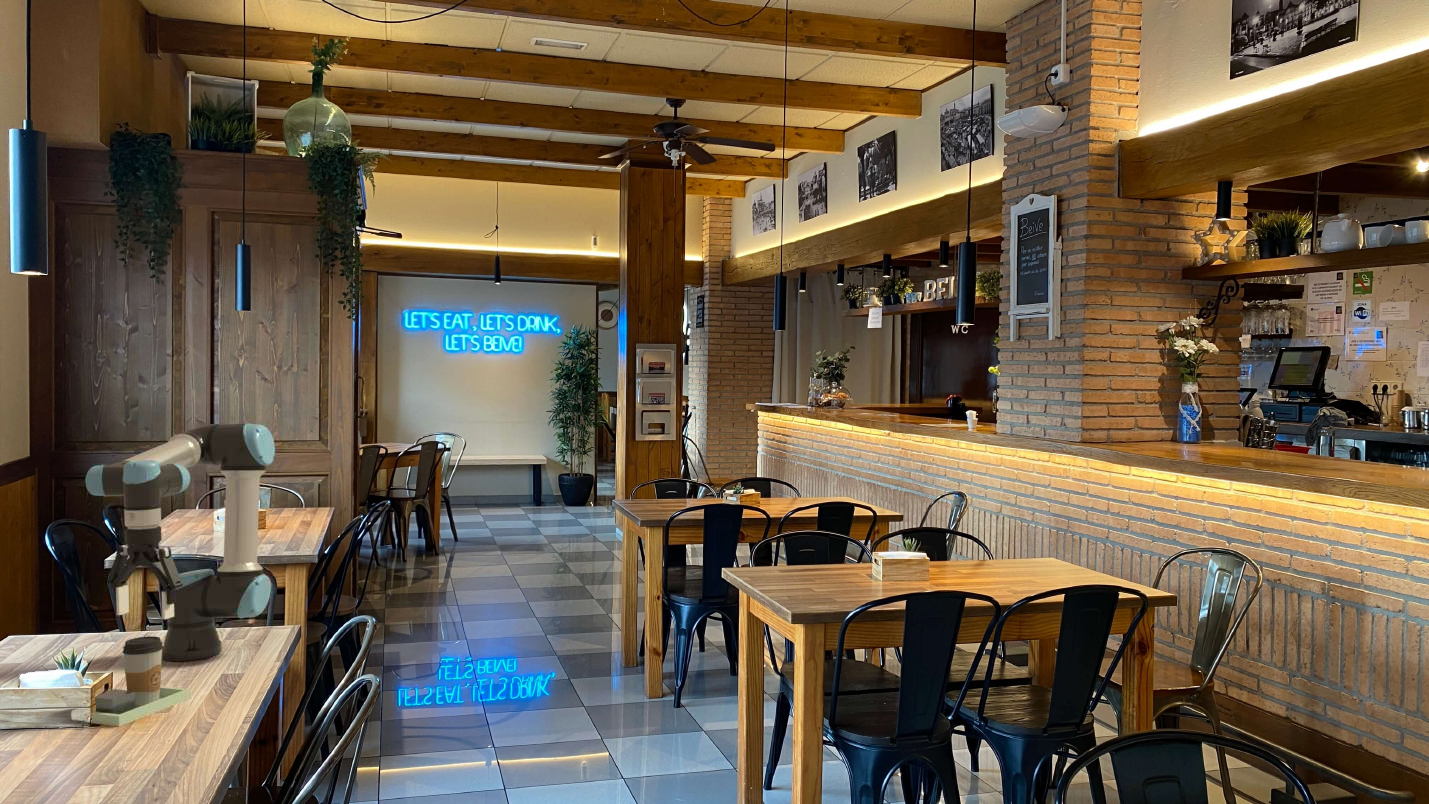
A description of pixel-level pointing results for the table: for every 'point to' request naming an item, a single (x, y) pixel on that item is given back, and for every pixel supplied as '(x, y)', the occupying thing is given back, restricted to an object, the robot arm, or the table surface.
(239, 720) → the table surface
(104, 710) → the cube
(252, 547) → the robot arm
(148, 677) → the coffee cup
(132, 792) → the table surface
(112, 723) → the green tray
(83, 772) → the table surface
